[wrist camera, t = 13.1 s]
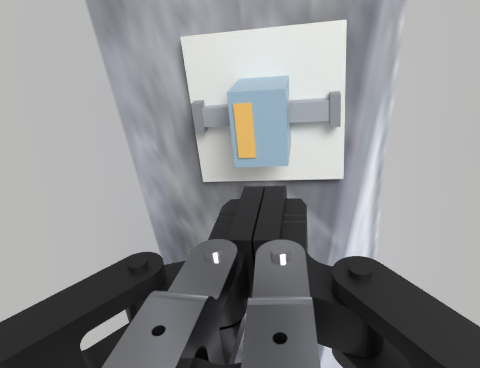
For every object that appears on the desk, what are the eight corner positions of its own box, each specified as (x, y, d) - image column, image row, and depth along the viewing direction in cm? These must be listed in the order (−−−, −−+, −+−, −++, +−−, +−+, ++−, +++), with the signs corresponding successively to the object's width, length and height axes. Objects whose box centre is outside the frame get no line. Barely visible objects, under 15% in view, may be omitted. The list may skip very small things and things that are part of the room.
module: (239, 78, 37) (226, 93, 31) (288, 75, 36) (284, 89, 30) (245, 143, 40) (234, 168, 34) (291, 142, 39) (288, 166, 33)
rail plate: (183, 36, 37) (175, 38, 35) (345, 19, 34) (348, 20, 32) (205, 178, 44) (199, 187, 42) (342, 175, 41) (344, 184, 39)
